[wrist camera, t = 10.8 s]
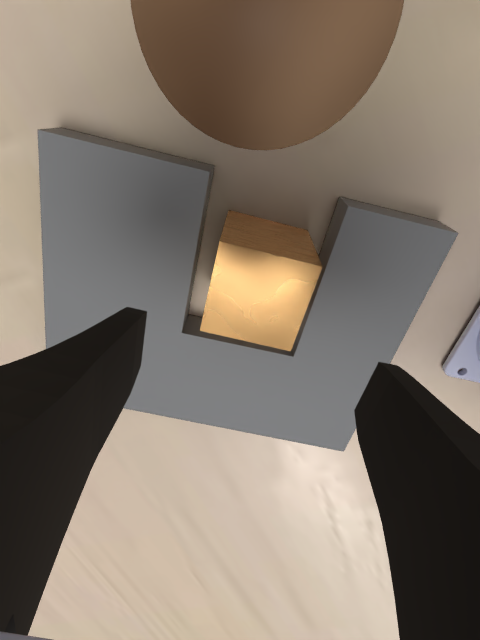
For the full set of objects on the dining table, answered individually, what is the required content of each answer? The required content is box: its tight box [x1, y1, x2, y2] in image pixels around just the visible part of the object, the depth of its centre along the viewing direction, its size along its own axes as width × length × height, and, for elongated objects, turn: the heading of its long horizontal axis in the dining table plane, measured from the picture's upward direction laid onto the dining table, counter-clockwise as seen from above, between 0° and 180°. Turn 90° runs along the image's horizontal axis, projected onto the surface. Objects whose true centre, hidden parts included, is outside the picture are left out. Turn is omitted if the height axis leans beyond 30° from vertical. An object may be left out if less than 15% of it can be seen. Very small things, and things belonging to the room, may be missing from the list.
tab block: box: [200, 210, 323, 351], centre depth 17 cm, size 4×4×5 cm
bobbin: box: [131, 0, 404, 150], centre depth 12 cm, size 7×7×6 cm
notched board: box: [38, 128, 458, 451], centre depth 20 cm, size 18×14×2 cm
